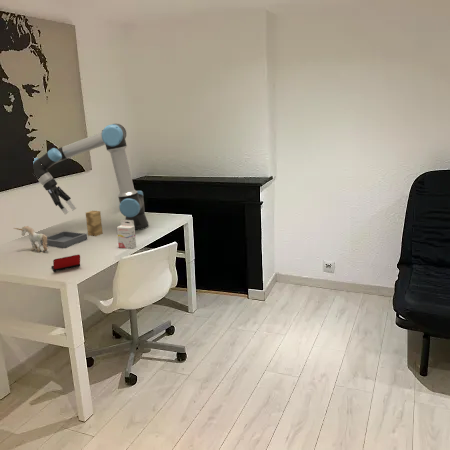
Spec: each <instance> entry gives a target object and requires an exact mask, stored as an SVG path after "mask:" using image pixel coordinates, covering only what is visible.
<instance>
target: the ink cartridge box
mask: <svg viewBox="0 0 450 450" xmlns="http://www.w3.org/2000/svg"><path fill="white" fill-rule="evenodd" d="M125 222H130V223H125ZM116 234H117V243H118V245H117V246H118V248H119V249H129V250H130V249H135V247H137V239H136V230H135V226H134V221H133V220H125V219H120V225H118V226H117V227H116Z"/></svg>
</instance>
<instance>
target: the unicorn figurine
mask: <svg viewBox="0 0 450 450" xmlns="http://www.w3.org/2000/svg"><path fill="white" fill-rule="evenodd" d="M13 229H14V230H18V231H21V236H22V237H23V236H25V235H26V233H28V234H29V235H28V238H29V241H30V243H31V251H35V250H37V253H39V252H40V251H41V247H43V252H46V251H48V249H49V246H47V237H48V236H47V235H46V234H44V233H37V232H36V231H35V230H34V229H33V228H32V227H30V226H29V225H27V226H22V227H21V228H19V227H18V228H17V227H13ZM41 241H42V242H43V243H42V245H41ZM36 242H37V243H36Z"/></svg>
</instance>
